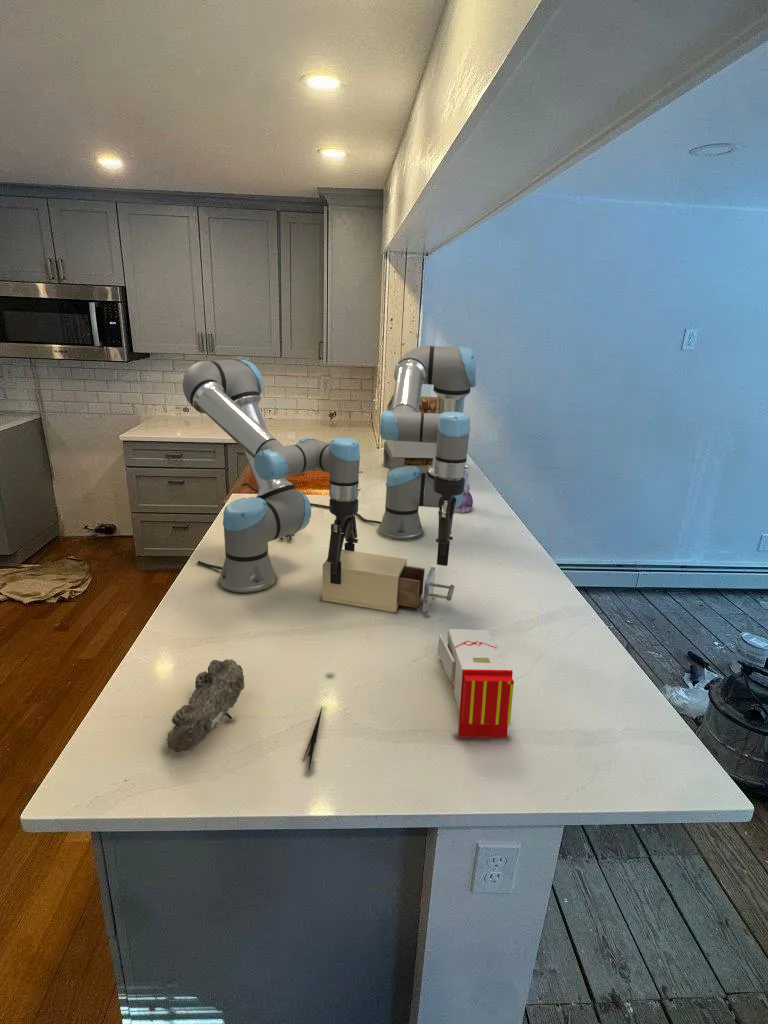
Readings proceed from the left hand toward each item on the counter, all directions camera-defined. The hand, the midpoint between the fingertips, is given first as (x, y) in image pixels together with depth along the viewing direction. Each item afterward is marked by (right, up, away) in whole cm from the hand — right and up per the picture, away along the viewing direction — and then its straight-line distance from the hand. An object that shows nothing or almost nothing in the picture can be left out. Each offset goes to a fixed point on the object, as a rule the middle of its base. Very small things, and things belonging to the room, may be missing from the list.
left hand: (342, 573), depth 155 cm
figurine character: (-22, +9, +39) cm, 46 cm away
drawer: (+17, -7, -2) cm, 19 cm away
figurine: (+43, +18, +72) cm, 86 cm away
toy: (+29, -21, -36) cm, 51 cm away
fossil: (-21, -22, -47) cm, 56 cm away
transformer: (+29, +36, +120) cm, 128 cm away
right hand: (+26, +3, -8) cm, 28 cm away
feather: (-1, -23, -46) cm, 52 cm away
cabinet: (+6, -6, +1) cm, 9 cm away
